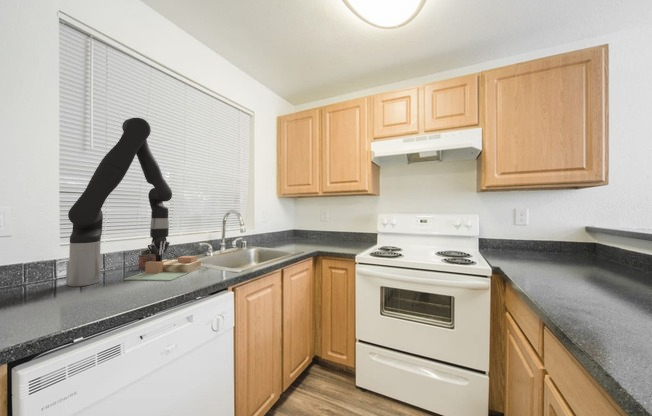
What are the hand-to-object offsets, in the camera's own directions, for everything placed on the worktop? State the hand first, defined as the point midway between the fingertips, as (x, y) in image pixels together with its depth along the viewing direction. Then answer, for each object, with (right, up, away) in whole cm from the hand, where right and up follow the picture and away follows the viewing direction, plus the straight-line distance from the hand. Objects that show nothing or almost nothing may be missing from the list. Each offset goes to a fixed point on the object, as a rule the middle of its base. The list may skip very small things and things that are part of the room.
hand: (158, 262), depth 122 cm
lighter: (-11, -5, +8) cm, 15 cm away
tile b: (+10, 0, +7) cm, 12 cm away
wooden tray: (+5, -5, +5) cm, 9 cm away
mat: (+5, -5, -8) cm, 11 cm away
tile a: (0, -2, -3) cm, 3 cm away
